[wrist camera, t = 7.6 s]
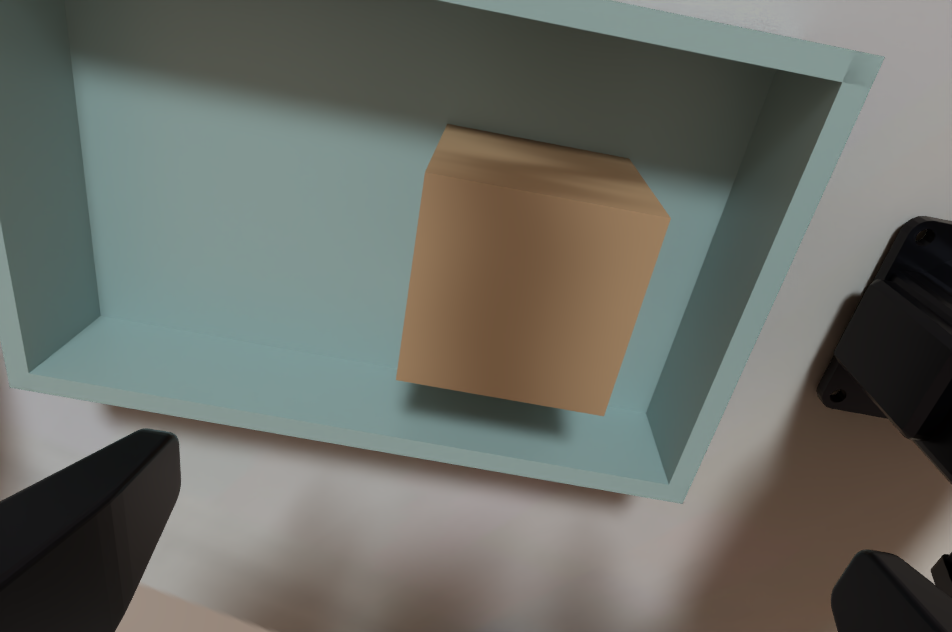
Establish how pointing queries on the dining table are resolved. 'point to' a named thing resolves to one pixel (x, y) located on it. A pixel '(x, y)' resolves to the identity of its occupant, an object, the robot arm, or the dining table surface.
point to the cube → (527, 270)
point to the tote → (387, 209)
